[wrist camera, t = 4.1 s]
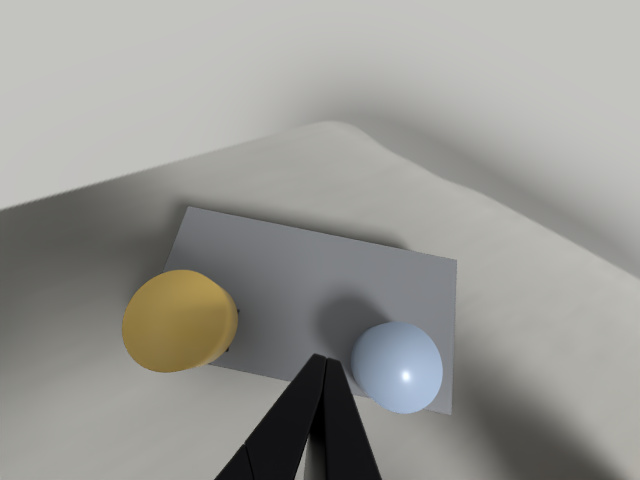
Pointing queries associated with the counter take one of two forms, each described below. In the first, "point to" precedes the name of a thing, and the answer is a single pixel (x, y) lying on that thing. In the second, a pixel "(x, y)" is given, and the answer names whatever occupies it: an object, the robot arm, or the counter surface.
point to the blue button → (397, 366)
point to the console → (315, 293)
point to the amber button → (179, 322)
